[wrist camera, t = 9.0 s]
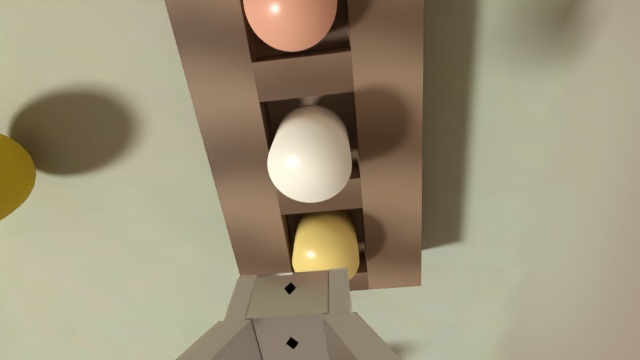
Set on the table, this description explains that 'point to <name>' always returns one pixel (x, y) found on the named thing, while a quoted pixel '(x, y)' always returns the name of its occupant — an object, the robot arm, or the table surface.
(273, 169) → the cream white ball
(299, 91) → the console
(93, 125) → the table surface
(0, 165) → the lemon
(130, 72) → the table surface
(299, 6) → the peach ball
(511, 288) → the table surface
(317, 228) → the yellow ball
